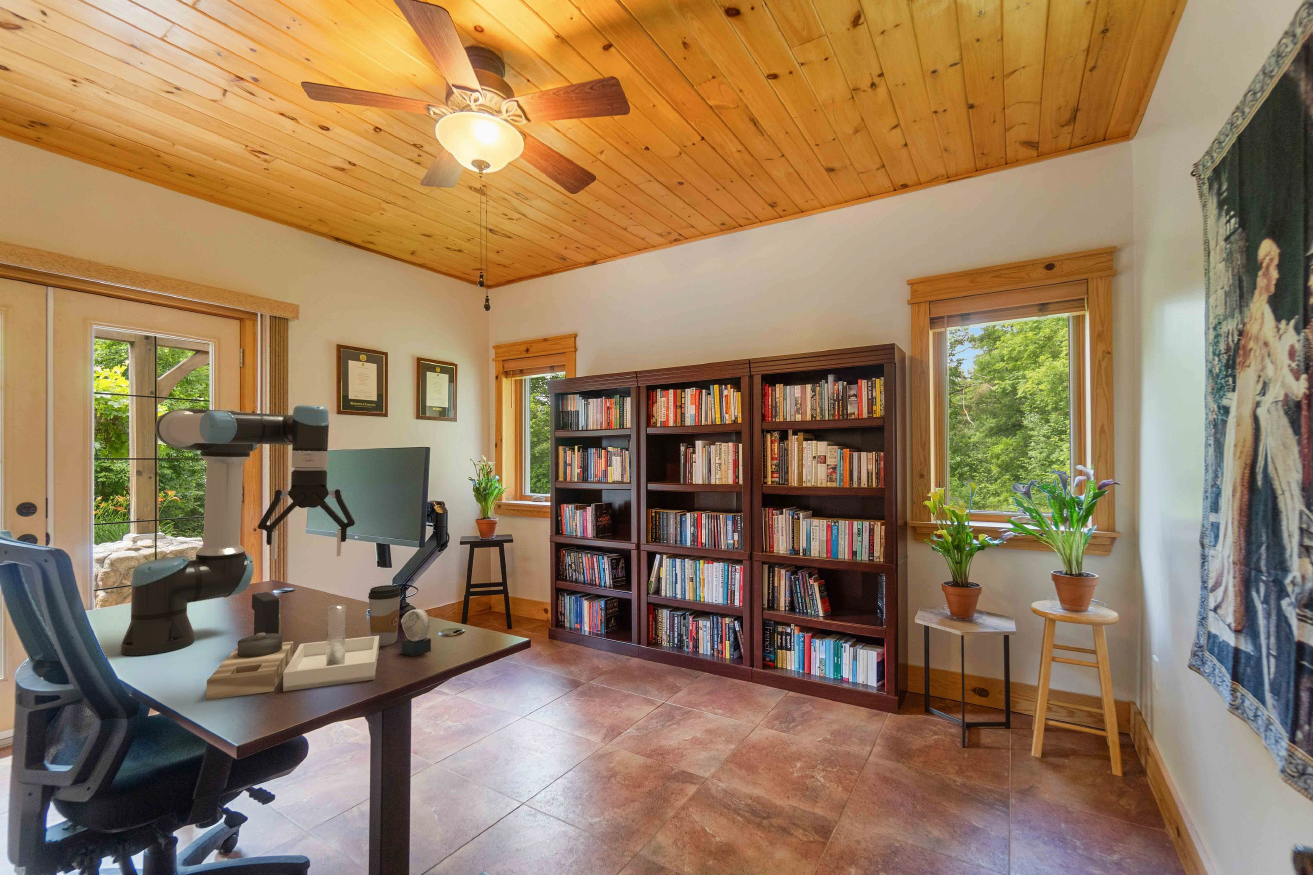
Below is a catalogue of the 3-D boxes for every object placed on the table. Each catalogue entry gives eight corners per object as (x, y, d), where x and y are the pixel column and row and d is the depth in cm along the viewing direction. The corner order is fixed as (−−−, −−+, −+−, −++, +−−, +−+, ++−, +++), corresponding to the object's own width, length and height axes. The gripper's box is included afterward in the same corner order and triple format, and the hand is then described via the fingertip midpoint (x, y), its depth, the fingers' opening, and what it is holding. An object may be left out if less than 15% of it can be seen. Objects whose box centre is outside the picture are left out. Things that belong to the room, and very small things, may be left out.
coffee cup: (387, 648, 158) (388, 591, 159) (360, 646, 160) (361, 590, 160) (407, 639, 166) (407, 585, 167) (380, 637, 168) (381, 584, 168)
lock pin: (327, 663, 144) (328, 605, 144) (345, 661, 145) (346, 603, 146) (325, 668, 140) (326, 608, 140) (344, 666, 141) (345, 607, 142)
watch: (415, 646, 159) (415, 605, 160) (435, 651, 155) (435, 609, 156) (396, 652, 155) (397, 610, 155) (416, 657, 150) (417, 614, 151)
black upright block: (281, 656, 152) (282, 597, 152) (262, 660, 149) (263, 600, 149) (269, 647, 159) (270, 591, 160) (250, 651, 156) (251, 593, 157)
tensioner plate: (236, 663, 146) (237, 630, 147) (293, 657, 151) (293, 624, 151) (206, 699, 124) (207, 660, 125) (273, 691, 129) (274, 652, 129)
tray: (300, 659, 149) (300, 643, 149) (379, 650, 156) (379, 635, 156) (283, 691, 129) (283, 672, 129) (374, 679, 136) (374, 661, 136)
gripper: (244, 469, 136) (241, 562, 135) (366, 469, 146) (363, 556, 145) (252, 468, 142) (249, 557, 142) (367, 468, 152) (365, 551, 152)
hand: (307, 557), depth 143 cm, fingers open, 13 cm apart
